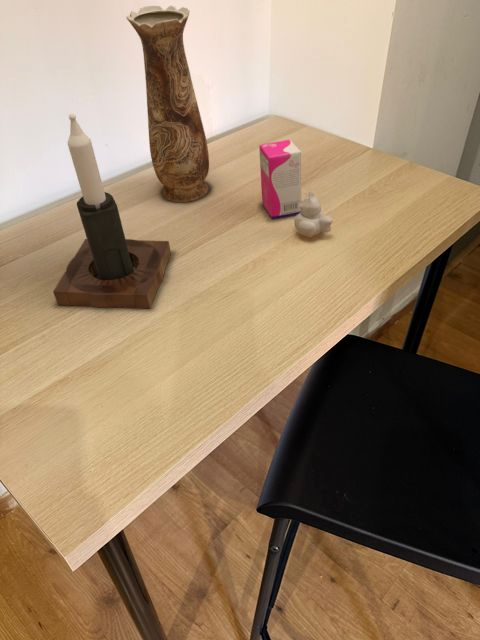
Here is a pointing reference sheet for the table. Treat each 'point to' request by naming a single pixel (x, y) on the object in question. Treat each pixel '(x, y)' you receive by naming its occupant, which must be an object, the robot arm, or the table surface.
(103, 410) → the table surface
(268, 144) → the supplement box
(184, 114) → the vase
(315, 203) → the white animal figurine
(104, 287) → the hole plate
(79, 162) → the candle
